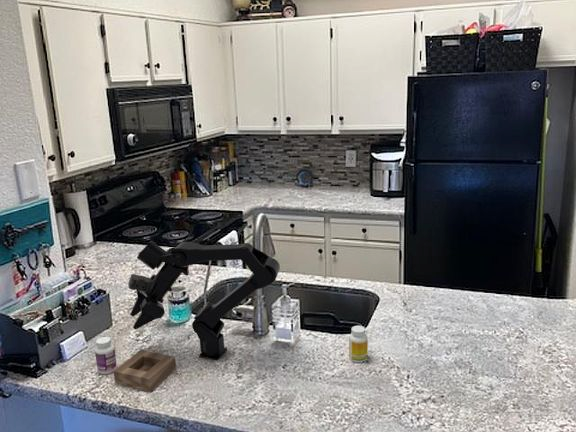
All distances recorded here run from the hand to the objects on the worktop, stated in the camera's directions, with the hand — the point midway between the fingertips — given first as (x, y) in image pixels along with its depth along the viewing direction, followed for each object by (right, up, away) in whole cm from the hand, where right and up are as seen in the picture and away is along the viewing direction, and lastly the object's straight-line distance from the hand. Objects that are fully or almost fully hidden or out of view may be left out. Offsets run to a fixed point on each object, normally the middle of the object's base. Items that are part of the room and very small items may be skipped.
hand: (132, 321), depth 152 cm
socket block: (+5, -15, -4) cm, 16 cm away
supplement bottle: (+66, -11, +1) cm, 67 cm away
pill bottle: (-7, -14, 0) cm, 16 cm away
